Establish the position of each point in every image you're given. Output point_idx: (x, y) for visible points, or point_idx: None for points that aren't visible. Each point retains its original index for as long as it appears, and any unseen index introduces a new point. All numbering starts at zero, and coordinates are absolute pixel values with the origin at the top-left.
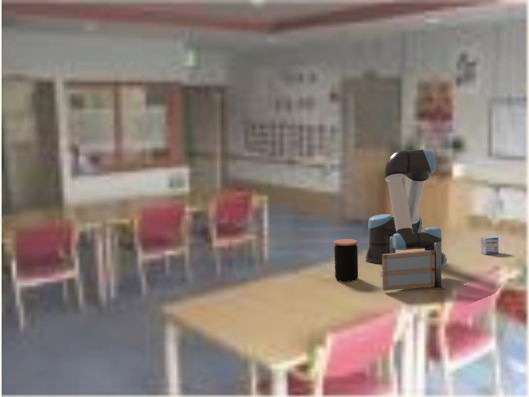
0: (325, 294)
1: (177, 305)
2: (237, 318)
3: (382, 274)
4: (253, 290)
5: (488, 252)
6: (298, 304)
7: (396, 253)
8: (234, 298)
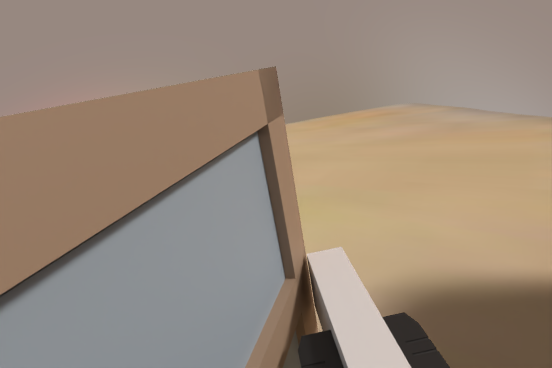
0: (407, 201)
1: (411, 105)
2: (307, 131)
3: (309, 280)
4: (503, 129)
5: None
6: (333, 164)
7: (117, 95)
8: (432, 122)
